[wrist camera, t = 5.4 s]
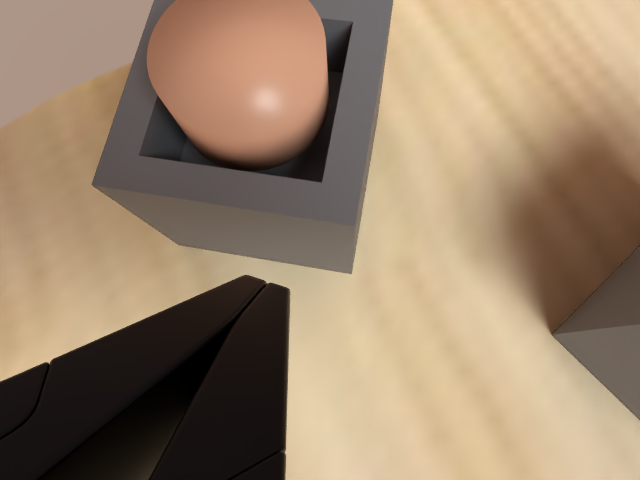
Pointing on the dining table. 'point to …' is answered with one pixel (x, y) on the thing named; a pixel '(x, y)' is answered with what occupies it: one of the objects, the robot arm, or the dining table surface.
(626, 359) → the grey button housing
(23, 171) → the dining table surface
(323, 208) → the terracotta button housing
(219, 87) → the terracotta button
